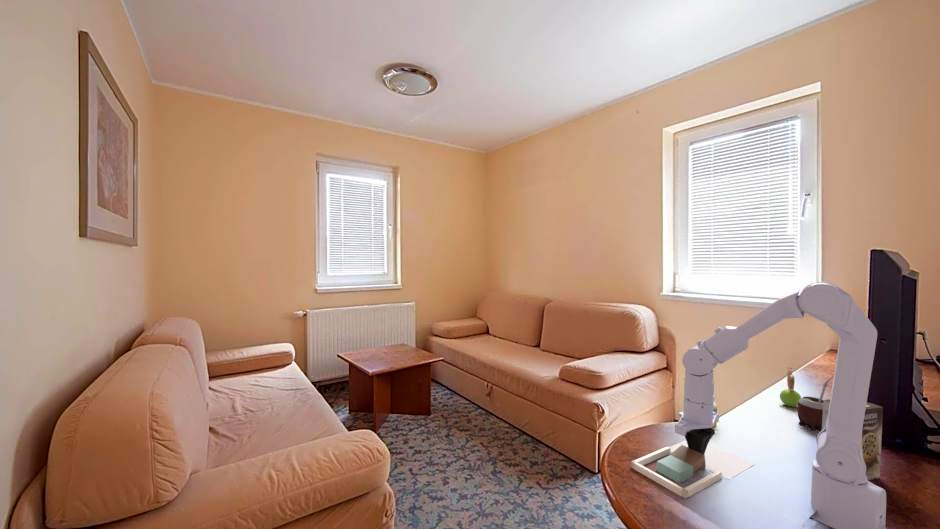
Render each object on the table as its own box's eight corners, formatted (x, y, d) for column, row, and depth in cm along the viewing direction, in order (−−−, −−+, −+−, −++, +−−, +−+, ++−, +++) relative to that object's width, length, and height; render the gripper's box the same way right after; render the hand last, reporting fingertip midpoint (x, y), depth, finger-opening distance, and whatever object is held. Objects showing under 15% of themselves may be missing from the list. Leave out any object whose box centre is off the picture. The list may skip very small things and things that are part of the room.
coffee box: (853, 484, 79) (856, 410, 79) (818, 468, 86) (821, 399, 85) (881, 478, 82) (885, 406, 81) (845, 462, 88) (848, 395, 88)
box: (721, 485, 79) (721, 472, 79) (685, 506, 72) (685, 491, 72) (666, 457, 89) (667, 446, 89) (630, 473, 82) (631, 461, 82)
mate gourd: (796, 427, 106) (798, 375, 106) (797, 418, 112) (799, 369, 112) (833, 436, 101) (835, 382, 101) (831, 426, 107) (833, 375, 107)
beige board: (755, 470, 84) (755, 464, 84) (728, 486, 78) (728, 479, 78) (692, 442, 96) (692, 437, 96) (664, 455, 90) (664, 448, 90)
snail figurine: (798, 404, 123) (800, 368, 123) (803, 411, 118) (804, 373, 117) (777, 400, 126) (779, 365, 126) (781, 407, 121) (782, 370, 120)
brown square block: (705, 467, 82) (704, 454, 82) (693, 478, 80) (692, 466, 79) (683, 456, 87) (682, 444, 86) (670, 466, 84) (669, 455, 84)
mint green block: (692, 480, 79) (693, 466, 79) (679, 487, 77) (679, 472, 77) (670, 468, 84) (670, 455, 83) (656, 474, 81) (656, 461, 81)
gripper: (697, 388, 91) (695, 442, 92) (662, 399, 84) (660, 458, 84) (729, 398, 85) (727, 456, 85) (694, 411, 78) (692, 474, 78)
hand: (696, 458), depth 84 cm, fingers closed
